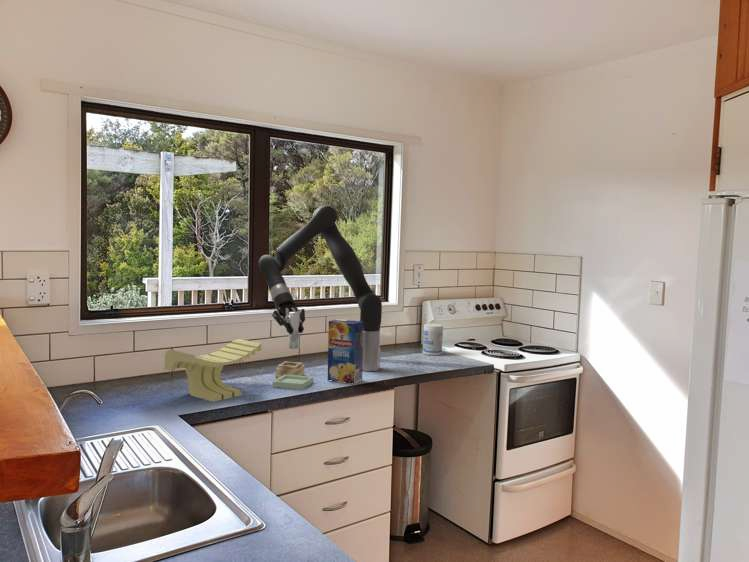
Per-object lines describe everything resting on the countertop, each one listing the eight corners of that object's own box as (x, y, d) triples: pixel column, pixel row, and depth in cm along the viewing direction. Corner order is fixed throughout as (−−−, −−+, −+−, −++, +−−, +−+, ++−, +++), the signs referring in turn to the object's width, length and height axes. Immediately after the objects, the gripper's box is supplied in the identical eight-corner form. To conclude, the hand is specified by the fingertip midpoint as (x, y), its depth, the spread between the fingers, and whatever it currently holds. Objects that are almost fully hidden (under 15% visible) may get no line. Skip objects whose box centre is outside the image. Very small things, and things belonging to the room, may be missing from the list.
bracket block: (304, 374, 255) (304, 362, 255) (296, 379, 246) (296, 367, 246) (283, 373, 257) (284, 361, 257) (275, 378, 248) (275, 365, 248)
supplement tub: (419, 354, 303) (420, 325, 302) (426, 351, 312) (427, 322, 311) (437, 356, 299) (438, 326, 298) (444, 353, 307) (445, 324, 306)
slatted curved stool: (233, 383, 239) (233, 337, 238) (260, 390, 229) (261, 343, 228) (164, 398, 216) (164, 348, 214) (191, 407, 206) (191, 354, 204)
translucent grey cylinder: (300, 347, 239) (301, 311, 238) (296, 349, 235) (297, 312, 234) (290, 346, 240) (291, 311, 239) (286, 348, 236) (287, 312, 235)
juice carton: (362, 380, 248) (363, 321, 246) (354, 384, 241) (355, 323, 239) (336, 376, 253) (337, 319, 251) (327, 380, 246) (328, 321, 244)
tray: (313, 382, 243) (313, 376, 243) (302, 389, 231) (302, 384, 231) (284, 379, 246) (284, 374, 246) (272, 387, 234) (272, 381, 234)
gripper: (269, 292, 237) (283, 327, 229) (301, 290, 246) (316, 325, 237) (262, 304, 242) (276, 339, 233) (294, 302, 251) (309, 336, 242)
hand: (296, 332), depth 235 cm, fingers closed on translucent grey cylinder, 4 cm apart
